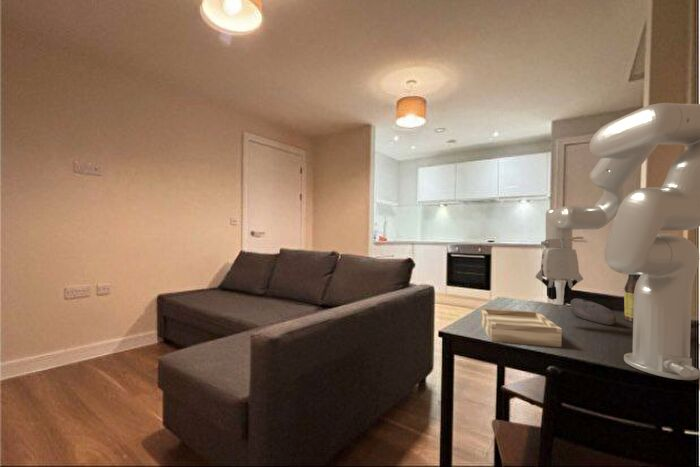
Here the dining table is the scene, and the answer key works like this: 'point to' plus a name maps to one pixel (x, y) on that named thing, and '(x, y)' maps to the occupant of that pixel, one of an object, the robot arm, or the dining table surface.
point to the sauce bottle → (630, 296)
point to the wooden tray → (520, 327)
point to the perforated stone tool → (592, 311)
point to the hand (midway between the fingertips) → (558, 298)
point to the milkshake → (559, 291)
